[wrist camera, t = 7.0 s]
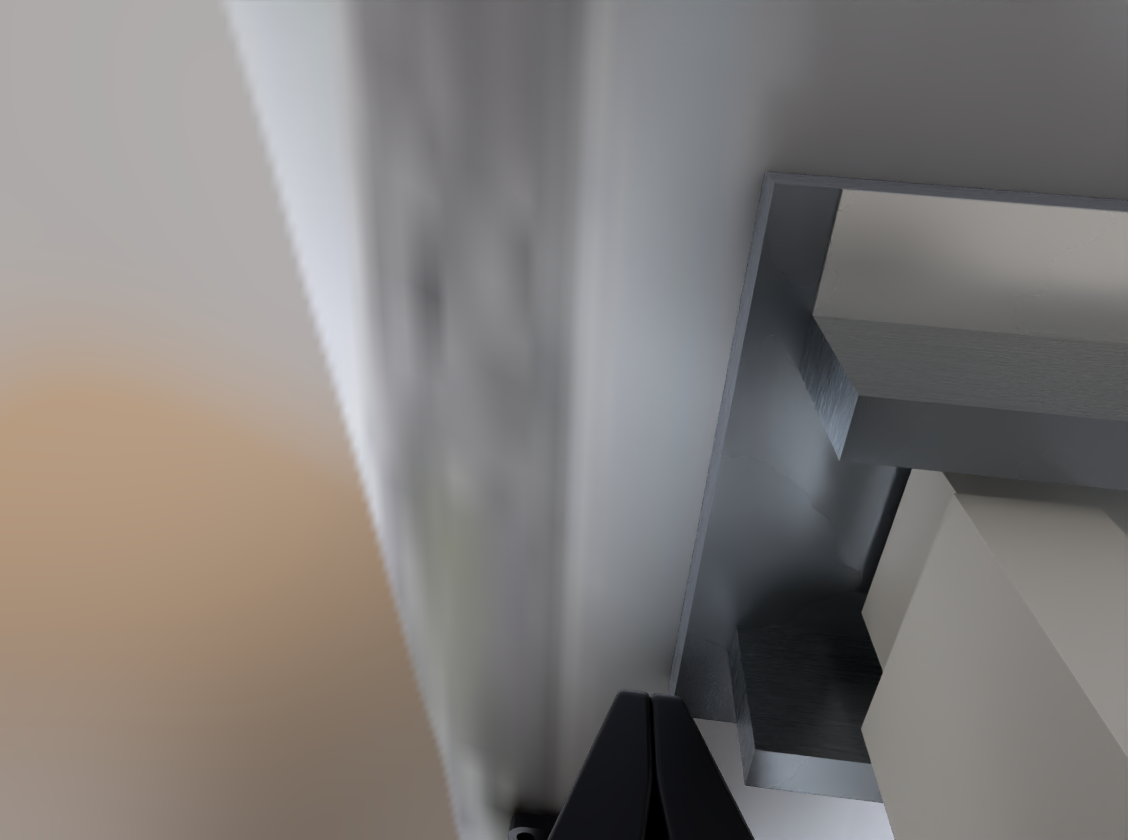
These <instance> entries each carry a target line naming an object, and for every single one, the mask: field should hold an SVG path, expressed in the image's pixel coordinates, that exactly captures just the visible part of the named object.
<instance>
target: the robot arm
mask: <svg viewBox="0 0 1128 840" xmlns="http://www.w3.org/2000/svg"><path fill="white" fill-rule="evenodd" d="M508 840H755V839H754V837H753V835H752V833H751V831H750V829H749V827H748V825H747V823H746V822H745V820H744V818H743V816H742V814H741V812H740V810H739V808H738V806H737V804H736V802H735V800H734V798H733V796H732V794H731V792H730V790H729V788H728V786H727V784H726V782H725V780H724V778H723V776H722V774H721V772H720V770H719V769H718V767H717V765H716V763H715V761H714V759H713V757H712V755H711V753H710V751H709V749H708V747H707V745H706V743H705V741H704V739H703V737H702V735H701V733H700V731H699V729H698V727H697V725H696V723H695V721H694V719H693V717H692V715H691V714H690V712H689V710H688V708H687V706H686V704H685V702H684V701H683V699H682V698H680V697H678V696H673V695H665V694H657V693H656V694H653V695H651V697H650V696H649V694H647V693H646V692H641V691H633V690H625V689H623V690H620V691H619V692H618V693H617V695H616V697H615V699H614V701H613V703H612V705H611V708H610V710H609V712H608V714H607V716H606V718H605V720H604V722H603V724H602V726H601V728H600V731H599V733H598V735H597V737H596V739H595V741H594V743H593V745H592V747H591V749H590V751H589V754H588V756H587V758H586V760H585V762H584V764H583V766H582V768H581V770H580V772H579V774H578V777H577V779H576V781H575V783H574V785H573V787H572V789H571V791H570V793H569V795H568V797H567V800H566V802H565V804H564V806H563V808H562V810H561V812H560V814H559V816H558V817H551V816H543V815H536V814H528V813H521V814H518V815H515V816H514V817H512V819H511V821H510V827H509V833H508Z"/></svg>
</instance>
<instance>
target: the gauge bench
mask: <svg viewBox="0 0 1128 840" xmlns="http://www.w3.org/2000/svg"><path fill="white" fill-rule="evenodd" d="M912 469H921V470H930V471H940V472H950V473H960V474H970V475H980V476H990V477H999V478H1009V479H1019V480H1029V481H1039V482H1049V483H1058V484H1068V485H1078V486H1088V487H1098V488H1108V489H1118V490H1127V491H1128V200H1117V199H1104V198H1092V197H1079V196H1067V195H1054V194H1041V193H1029V192H1016V191H1004V190H991V189H979V188H966V187H954V186H941V185H929V184H916V183H903V182H891V181H878V180H866V179H853V178H841V177H828V176H816V175H803V174H790V173H778V172H765V174H764V180H763V185H762V190H761V196H760V201H759V206H758V212H757V217H756V222H755V228H754V233H753V238H752V243H751V249H750V254H749V259H748V265H747V270H746V275H745V281H744V286H743V291H742V297H741V302H740V307H739V313H738V318H737V323H736V328H735V334H734V339H733V344H732V350H731V355H730V360H729V366H728V371H727V376H726V382H725V387H724V392H723V398H722V403H721V408H720V413H719V419H718V424H717V429H716V435H715V440H714V445H713V451H712V456H711V461H710V467H709V472H708V477H707V483H706V488H705V493H704V498H703V504H702V509H701V514H700V520H699V525H698V530H697V536H696V541H695V546H694V552H693V557H692V562H691V568H690V573H689V578H688V583H687V589H686V594H685V599H684V605H683V610H682V615H681V621H680V626H679V631H678V637H677V642H676V647H675V653H674V658H673V663H672V668H671V674H670V679H669V689H670V695H673V696H678V697H680V698H682V699H683V701H684V702H685V704H686V706H687V708H688V710H689V712H690V714H691V715H692V717H693V718H700V719H709V720H717V721H725V722H733V723H737V728H738V736H739V743H740V751H741V759H742V766H743V774H744V781H745V785H746V786H754V787H762V788H770V789H777V790H785V791H793V792H801V793H809V794H817V795H824V796H832V797H840V798H848V799H856V800H864V801H872V802H879V803H883V799H882V796H881V793H880V790H879V786H878V783H877V780H876V777H875V773H874V770H873V767H872V764H871V760H870V757H869V754H868V750H867V747H866V744H865V741H864V737H863V734H862V731H861V727H862V725H863V722H864V719H865V717H866V714H867V712H868V709H869V707H870V704H871V702H872V699H873V697H874V694H875V691H876V689H877V686H878V684H879V681H880V679H881V676H882V674H883V670H882V667H881V665H880V662H879V659H878V657H877V654H876V651H875V648H874V646H873V643H872V640H871V637H870V635H869V632H868V629H867V627H866V624H865V621H864V618H863V616H862V613H861V612H862V610H863V607H864V604H865V601H866V598H867V595H868V592H869V590H870V587H871V584H872V581H873V578H874V575H875V573H876V570H877V567H878V564H879V561H880V558H881V555H882V553H883V550H884V547H885V544H886V541H887V538H888V536H889V533H890V530H891V527H892V524H893V521H894V518H895V516H896V513H897V510H898V507H899V504H900V501H901V499H902V496H903V493H904V490H905V487H906V484H907V481H908V479H909V476H910V473H911V470H912Z"/></svg>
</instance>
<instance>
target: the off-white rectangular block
mask: <svg viewBox="0 0 1128 840" xmlns="http://www.w3.org/2000/svg"><path fill="white" fill-rule="evenodd" d="M861 613H862V616H863V618H864V621H865V624H866V627H867V629H868V632H869V635H870V637H871V640H872V643H873V646H874V648H875V651H876V654H877V657H878V659H879V662H880V665H881V667H882V670H883V674H882V676H881V679H880V681H879V684H878V686H877V689H876V691H875V694H874V697H873V699H872V702H871V704H870V707H869V709H868V712H867V714H866V717H865V719H864V722H863V725H862V727H861V731H862V734H863V737H864V741H865V744H866V747H867V750H868V754H869V757H870V760H871V764H872V767H873V770H874V773H875V777H876V780H877V783H878V786H879V790H880V793H881V796H882V799H883V803H884V806H885V809H886V812H887V816H888V819H889V822H890V825H891V829H892V832H893V835H894V839H895V840H1128V491H1127V490H1118V489H1108V488H1098V487H1088V486H1078V485H1068V484H1058V483H1049V482H1039V481H1029V480H1019V479H1009V478H999V477H990V476H980V475H970V474H960V473H950V472H940V471H930V470H921V469H912V470H911V473H910V476H909V479H908V481H907V484H906V487H905V490H904V493H903V496H902V499H901V501H900V504H899V507H898V510H897V513H896V516H895V518H894V521H893V524H892V527H891V530H890V533H889V536H888V538H887V541H886V544H885V547H884V550H883V553H882V555H881V558H880V561H879V564H878V567H877V570H876V573H875V575H874V578H873V581H872V584H871V587H870V590H869V592H868V595H867V598H866V601H865V604H864V607H863V610H862V612H861Z"/></svg>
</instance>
